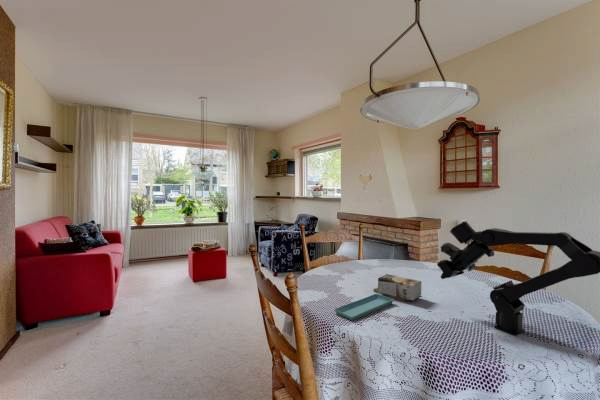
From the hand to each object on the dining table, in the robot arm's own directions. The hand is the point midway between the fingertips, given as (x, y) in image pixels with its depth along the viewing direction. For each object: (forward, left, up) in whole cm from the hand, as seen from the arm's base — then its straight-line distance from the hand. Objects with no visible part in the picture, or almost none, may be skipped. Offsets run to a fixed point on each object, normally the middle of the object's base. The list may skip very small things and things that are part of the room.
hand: (441, 277), depth 116 cm
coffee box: (+9, +2, -7) cm, 12 cm away
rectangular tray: (+14, +27, -13) cm, 33 cm away
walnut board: (+21, +3, -12) cm, 24 cm away
